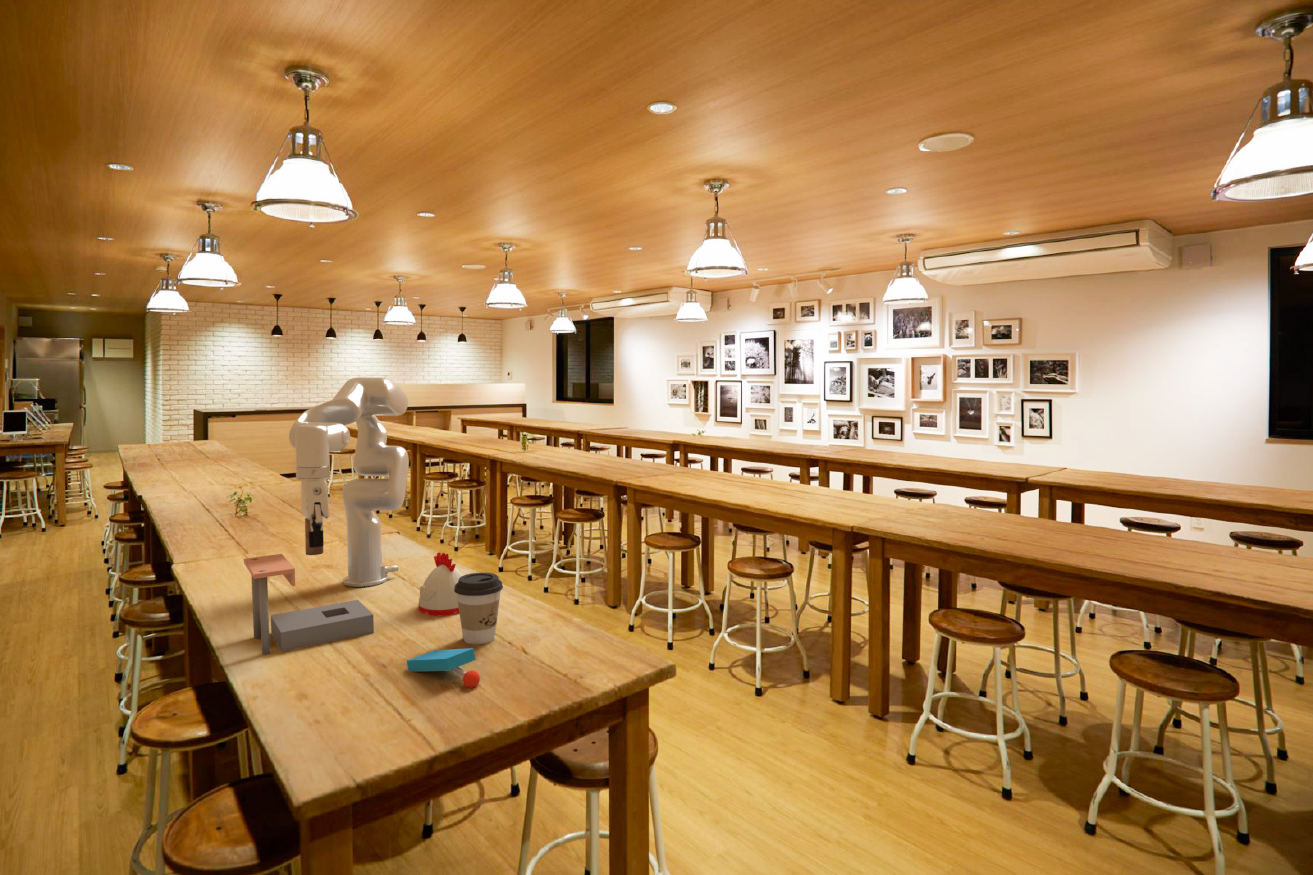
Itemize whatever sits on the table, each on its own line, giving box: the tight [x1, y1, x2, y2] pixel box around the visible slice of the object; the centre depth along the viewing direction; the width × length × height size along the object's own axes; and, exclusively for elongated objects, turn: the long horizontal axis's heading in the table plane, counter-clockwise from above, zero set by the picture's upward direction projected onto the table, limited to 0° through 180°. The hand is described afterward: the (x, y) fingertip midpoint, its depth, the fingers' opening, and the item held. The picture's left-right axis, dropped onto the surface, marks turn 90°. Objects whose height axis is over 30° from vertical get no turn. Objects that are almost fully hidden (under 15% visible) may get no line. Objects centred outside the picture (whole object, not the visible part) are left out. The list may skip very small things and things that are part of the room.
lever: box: [406, 647, 481, 689], centre depth 143 cm, size 7×7×18 cm
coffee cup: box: [454, 571, 504, 646], centre depth 163 cm, size 11×11×15 cm
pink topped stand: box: [243, 553, 296, 656], centre depth 158 cm, size 8×16×19 cm, turn 38°
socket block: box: [270, 599, 375, 652], centre depth 166 cm, size 20×14×4 cm
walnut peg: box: [304, 517, 324, 556], centre depth 173 cm, size 4×4×9 cm
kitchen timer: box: [418, 551, 464, 617], centre depth 185 cm, size 14×14×15 cm
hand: (314, 544), depth 173 cm, fingers closed on walnut peg, 4 cm apart
